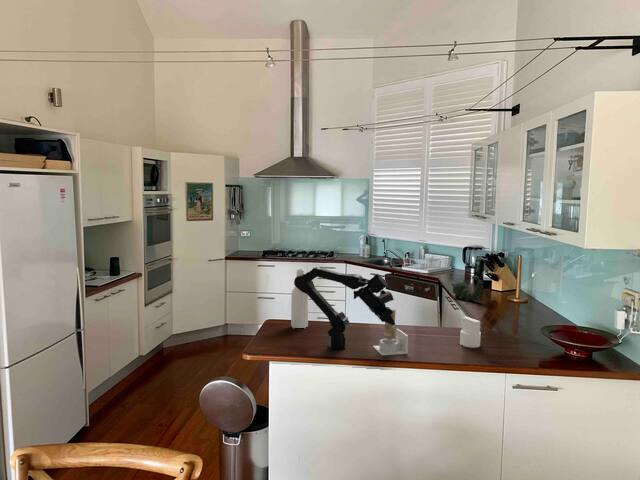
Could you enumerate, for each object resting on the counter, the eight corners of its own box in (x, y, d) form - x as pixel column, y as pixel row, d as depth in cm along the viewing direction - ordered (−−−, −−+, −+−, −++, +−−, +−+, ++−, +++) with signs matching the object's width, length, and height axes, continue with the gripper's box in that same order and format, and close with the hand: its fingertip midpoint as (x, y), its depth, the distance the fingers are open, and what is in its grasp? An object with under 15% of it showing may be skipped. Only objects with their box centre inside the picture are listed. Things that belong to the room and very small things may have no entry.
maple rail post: (386, 339, 197) (387, 311, 196) (382, 336, 201) (383, 309, 200) (395, 339, 198) (397, 311, 197) (391, 335, 202) (393, 308, 201)
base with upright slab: (455, 342, 213) (457, 317, 212) (470, 340, 217) (472, 316, 216) (469, 348, 205) (470, 322, 204) (484, 346, 209) (485, 320, 207)
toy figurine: (484, 305, 298) (454, 294, 319) (487, 277, 295) (457, 268, 315) (474, 306, 293) (445, 295, 314) (478, 278, 290) (448, 269, 310)
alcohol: (311, 327, 232) (312, 270, 230) (295, 330, 228) (296, 271, 225) (302, 323, 240) (303, 267, 237) (288, 325, 236) (288, 268, 233)
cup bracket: (382, 355, 193) (382, 337, 193) (373, 347, 204) (373, 329, 203) (407, 353, 196) (408, 335, 196) (397, 345, 207) (397, 328, 206)
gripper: (389, 290, 188) (413, 315, 190) (376, 281, 206) (398, 305, 209) (370, 309, 187) (394, 334, 190) (359, 298, 205) (381, 322, 208)
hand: (392, 323), depth 199 cm, fingers closed on maple rail post, 4 cm apart
